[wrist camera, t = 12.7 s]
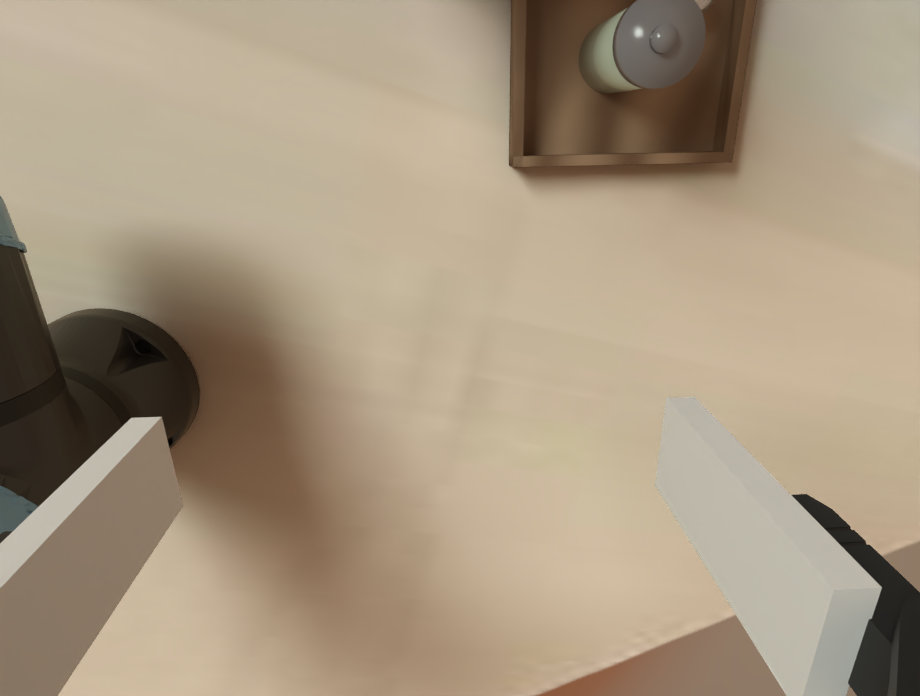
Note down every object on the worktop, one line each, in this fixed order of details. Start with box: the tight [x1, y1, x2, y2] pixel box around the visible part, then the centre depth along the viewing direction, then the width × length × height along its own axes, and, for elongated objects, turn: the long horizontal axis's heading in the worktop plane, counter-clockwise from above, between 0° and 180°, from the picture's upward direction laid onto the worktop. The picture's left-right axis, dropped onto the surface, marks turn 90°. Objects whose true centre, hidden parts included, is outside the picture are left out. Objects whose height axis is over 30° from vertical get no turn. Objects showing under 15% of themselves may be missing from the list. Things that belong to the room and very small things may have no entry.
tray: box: [509, 0, 756, 167], centre depth 44 cm, size 18×16×2 cm
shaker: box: [579, 0, 706, 94], centre depth 39 cm, size 6×6×11 cm
